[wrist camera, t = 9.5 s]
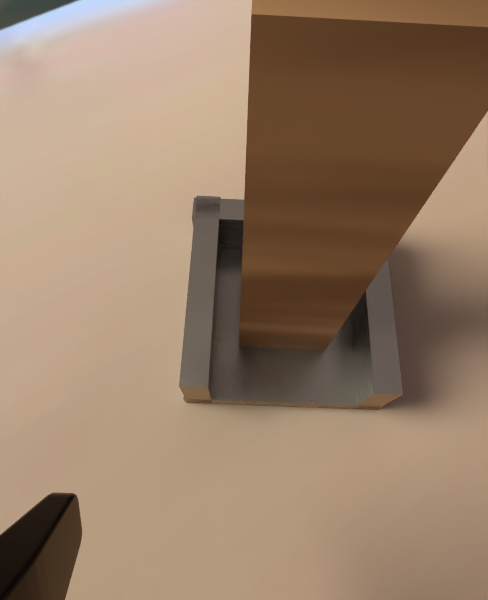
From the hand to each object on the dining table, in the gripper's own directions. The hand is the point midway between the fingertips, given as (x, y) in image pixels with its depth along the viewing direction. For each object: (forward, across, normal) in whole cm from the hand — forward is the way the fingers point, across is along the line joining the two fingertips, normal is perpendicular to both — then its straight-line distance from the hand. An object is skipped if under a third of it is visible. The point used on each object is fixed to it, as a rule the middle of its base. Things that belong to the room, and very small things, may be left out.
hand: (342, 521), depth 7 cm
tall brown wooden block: (+12, 0, +1) cm, 12 cm away
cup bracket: (+13, 0, +2) cm, 13 cm away
